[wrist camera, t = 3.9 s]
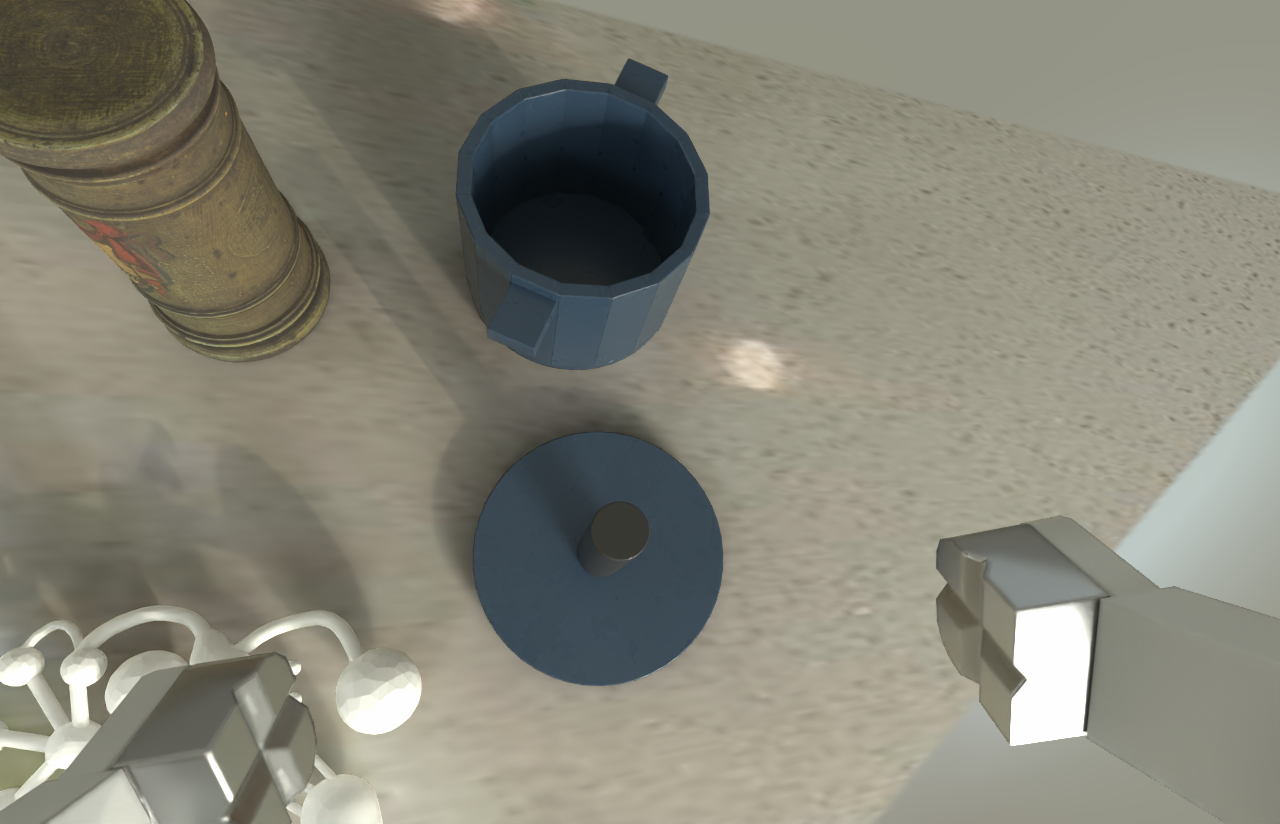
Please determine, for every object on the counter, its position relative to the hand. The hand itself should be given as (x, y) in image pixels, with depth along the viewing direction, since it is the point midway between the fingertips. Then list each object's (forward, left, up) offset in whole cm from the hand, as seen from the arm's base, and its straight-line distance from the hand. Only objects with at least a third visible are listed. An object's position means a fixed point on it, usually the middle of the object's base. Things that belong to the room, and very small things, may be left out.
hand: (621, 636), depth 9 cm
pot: (-7, +21, -31) cm, 38 cm away
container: (-23, +12, -31) cm, 40 cm away
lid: (+1, +6, -30) cm, 31 cm away
